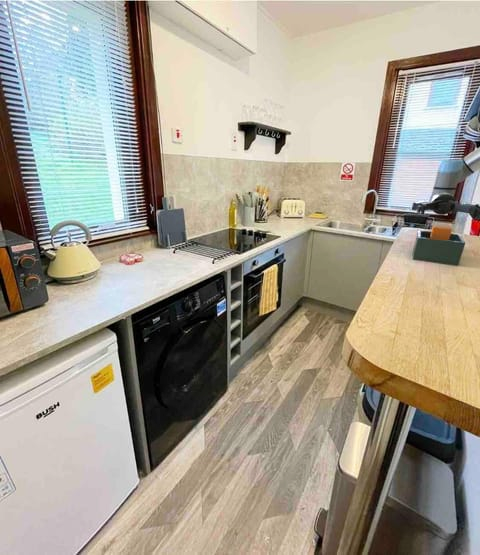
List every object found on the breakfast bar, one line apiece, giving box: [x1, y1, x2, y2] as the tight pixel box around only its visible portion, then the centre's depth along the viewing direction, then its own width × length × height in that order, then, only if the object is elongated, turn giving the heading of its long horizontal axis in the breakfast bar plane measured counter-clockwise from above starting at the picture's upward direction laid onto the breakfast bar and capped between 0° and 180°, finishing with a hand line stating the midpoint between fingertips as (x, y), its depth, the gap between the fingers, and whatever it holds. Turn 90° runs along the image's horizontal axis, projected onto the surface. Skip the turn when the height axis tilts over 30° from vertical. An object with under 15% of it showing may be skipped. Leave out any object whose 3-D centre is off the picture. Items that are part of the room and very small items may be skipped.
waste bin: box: [412, 229, 466, 267], centre depth 94 cm, size 13×13×8 cm
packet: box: [430, 222, 453, 240], centre depth 93 cm, size 5×4×11 cm
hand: (448, 211), depth 88 cm, fingers open, 13 cm apart
